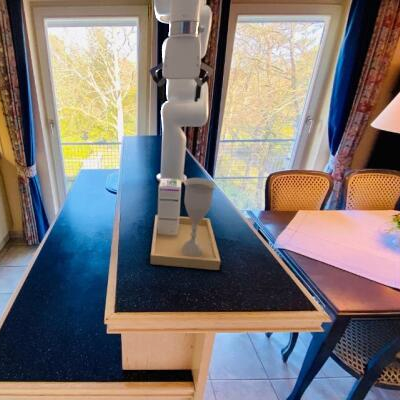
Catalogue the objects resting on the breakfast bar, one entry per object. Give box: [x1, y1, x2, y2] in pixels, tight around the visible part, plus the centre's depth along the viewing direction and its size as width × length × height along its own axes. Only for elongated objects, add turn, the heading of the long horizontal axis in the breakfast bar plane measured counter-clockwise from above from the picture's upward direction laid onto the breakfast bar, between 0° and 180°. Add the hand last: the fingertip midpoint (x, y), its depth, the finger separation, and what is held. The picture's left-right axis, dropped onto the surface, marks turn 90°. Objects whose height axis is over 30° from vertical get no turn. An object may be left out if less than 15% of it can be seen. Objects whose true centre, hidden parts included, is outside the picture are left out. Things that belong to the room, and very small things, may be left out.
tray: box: [150, 214, 221, 271], centre depth 69 cm, size 20×16×3 cm
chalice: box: [182, 177, 217, 257], centre depth 62 cm, size 7×7×18 cm
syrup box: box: [157, 179, 182, 236], centre depth 72 cm, size 6×6×14 cm
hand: (178, 101), depth 76 cm, fingers open, 9 cm apart
